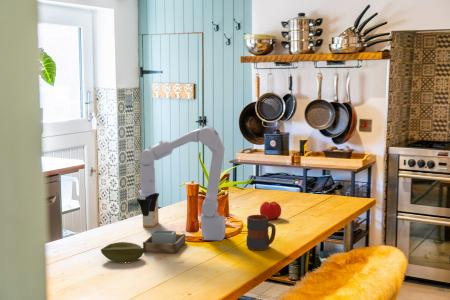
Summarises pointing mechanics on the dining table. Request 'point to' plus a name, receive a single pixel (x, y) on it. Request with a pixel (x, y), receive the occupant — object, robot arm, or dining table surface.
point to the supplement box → (151, 218)
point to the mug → (259, 232)
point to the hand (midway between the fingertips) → (148, 213)
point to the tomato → (270, 210)
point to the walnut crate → (164, 245)
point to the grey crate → (164, 236)
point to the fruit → (122, 252)
